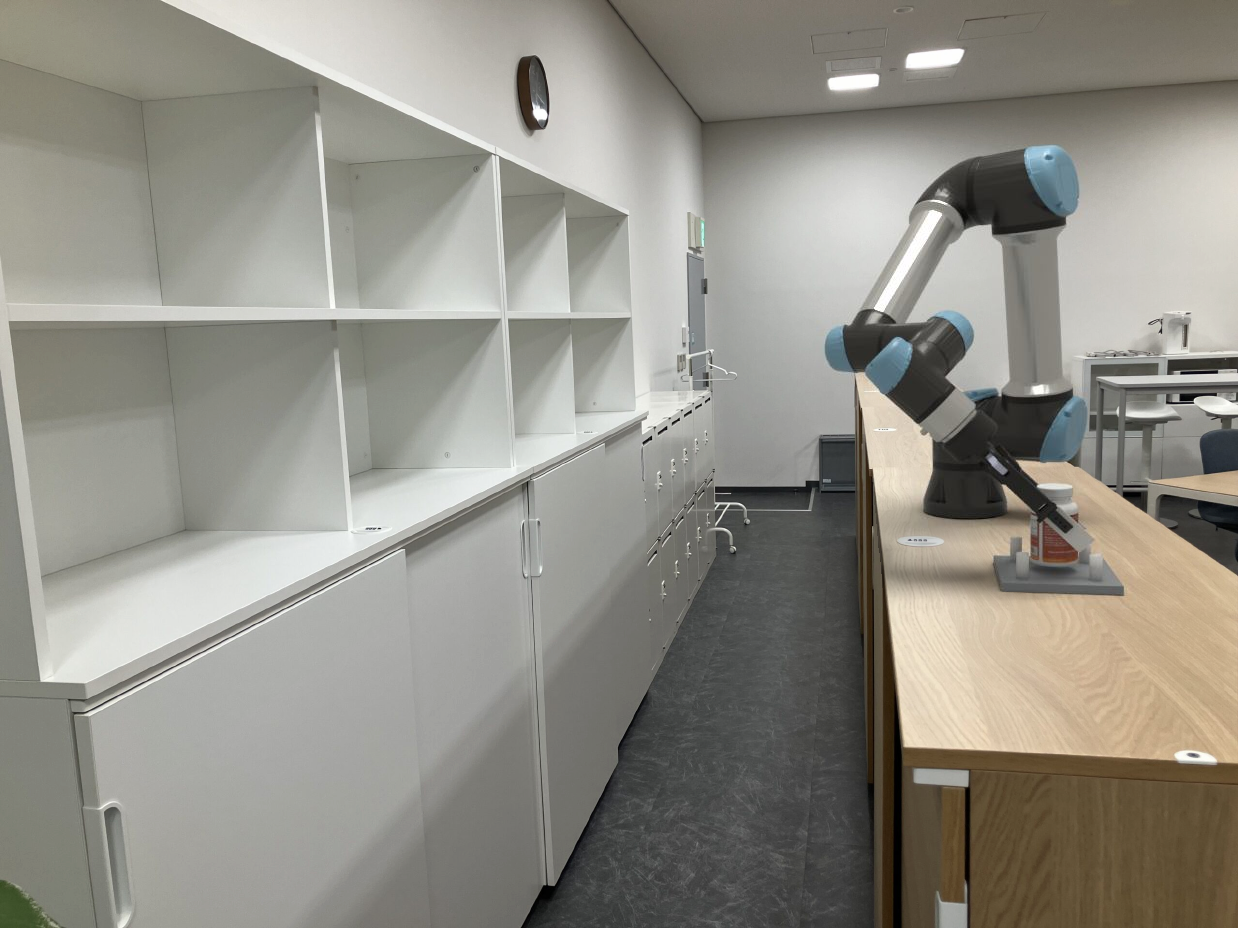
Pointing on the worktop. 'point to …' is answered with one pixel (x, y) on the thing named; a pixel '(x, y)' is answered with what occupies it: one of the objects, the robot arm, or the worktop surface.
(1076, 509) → the pill bottle
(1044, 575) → the peg board
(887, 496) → the worktop surface
